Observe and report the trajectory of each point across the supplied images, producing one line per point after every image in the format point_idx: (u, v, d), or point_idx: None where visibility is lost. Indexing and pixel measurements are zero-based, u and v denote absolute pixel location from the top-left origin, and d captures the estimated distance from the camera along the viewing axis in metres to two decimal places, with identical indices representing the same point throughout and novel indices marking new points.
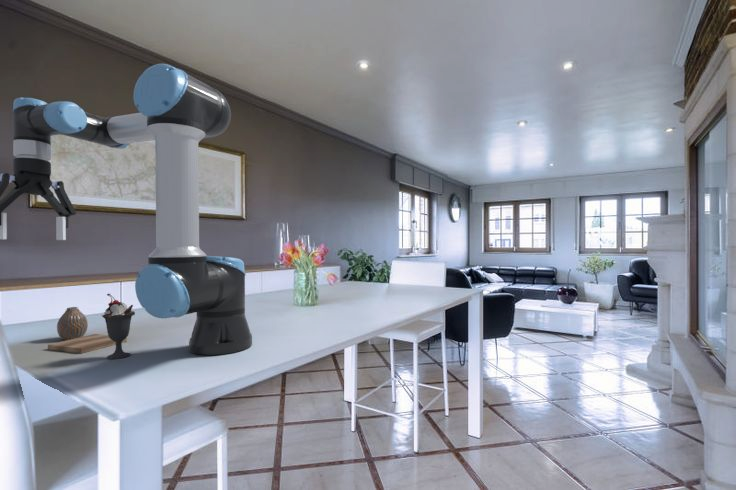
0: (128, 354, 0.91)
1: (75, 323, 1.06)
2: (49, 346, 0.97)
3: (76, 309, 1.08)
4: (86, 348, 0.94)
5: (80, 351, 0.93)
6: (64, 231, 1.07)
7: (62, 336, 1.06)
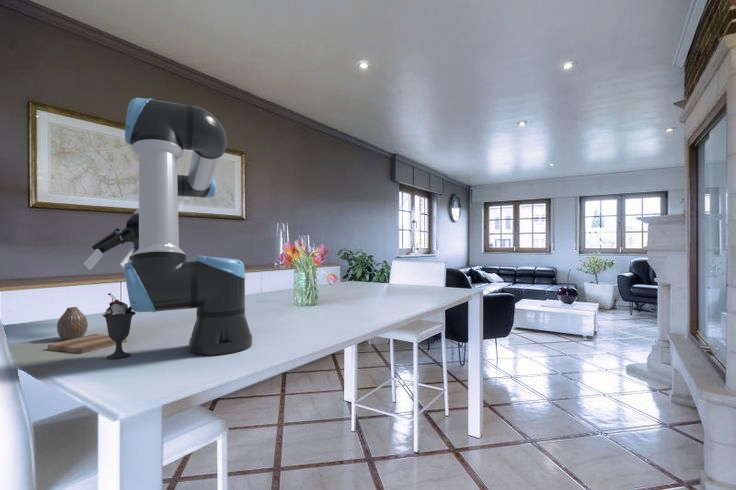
0: (128, 354, 0.91)
1: (75, 323, 1.06)
2: (49, 346, 0.97)
3: (76, 309, 1.08)
4: (86, 348, 0.94)
5: (80, 351, 0.93)
6: (125, 258, 1.18)
7: (62, 336, 1.06)
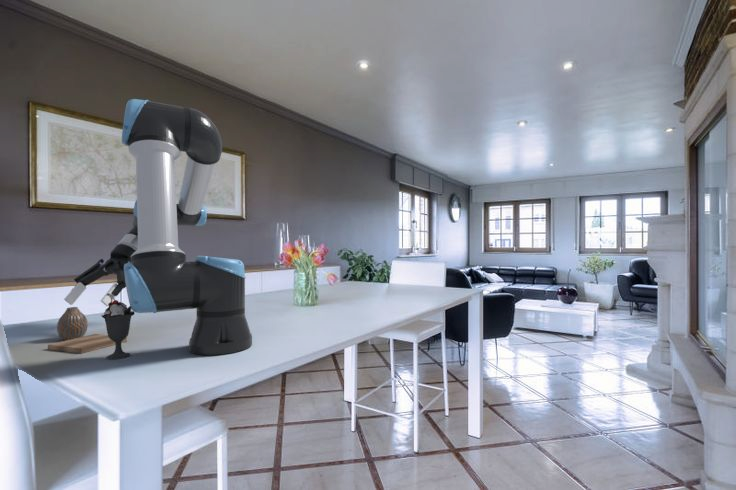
0: (128, 354, 0.91)
1: (75, 323, 1.06)
2: (49, 346, 0.97)
3: (76, 309, 1.08)
4: (86, 348, 0.94)
5: (80, 351, 0.93)
6: (106, 294, 1.12)
7: (62, 336, 1.06)
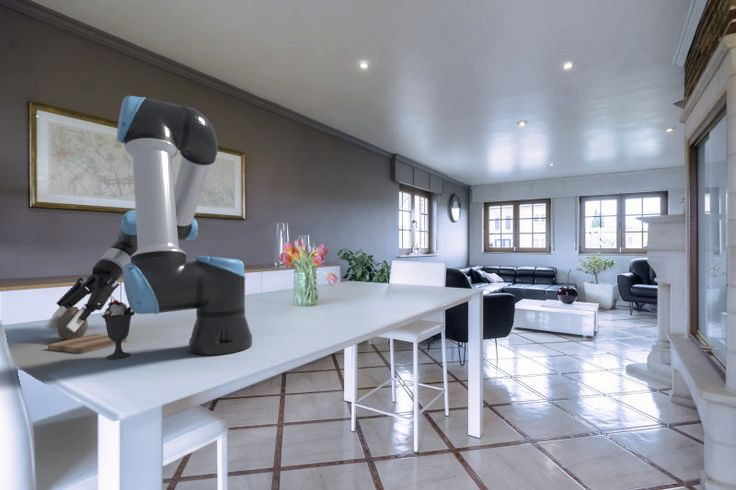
0: (128, 354, 0.91)
1: None
2: (49, 346, 0.97)
3: (76, 309, 1.08)
4: (86, 348, 0.94)
5: (80, 351, 0.93)
6: (73, 319, 1.05)
7: (62, 336, 1.06)
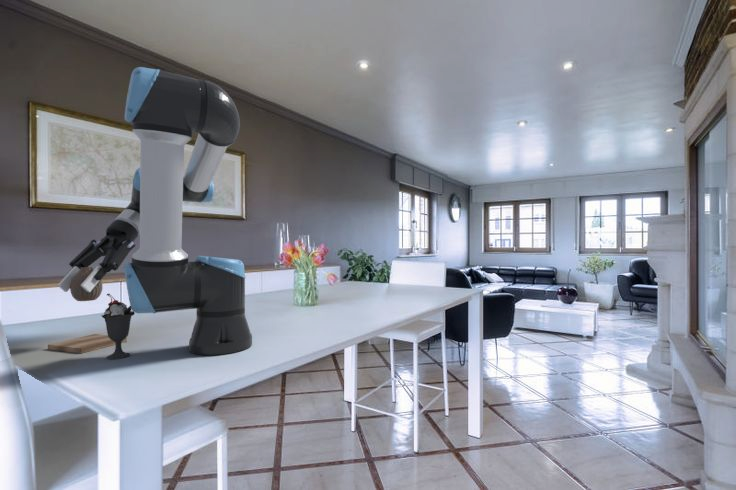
0: (128, 354, 0.91)
1: None
2: (49, 346, 0.97)
3: (90, 269, 1.01)
4: (86, 348, 0.94)
5: (80, 351, 0.93)
6: (88, 278, 0.98)
7: (76, 296, 0.99)
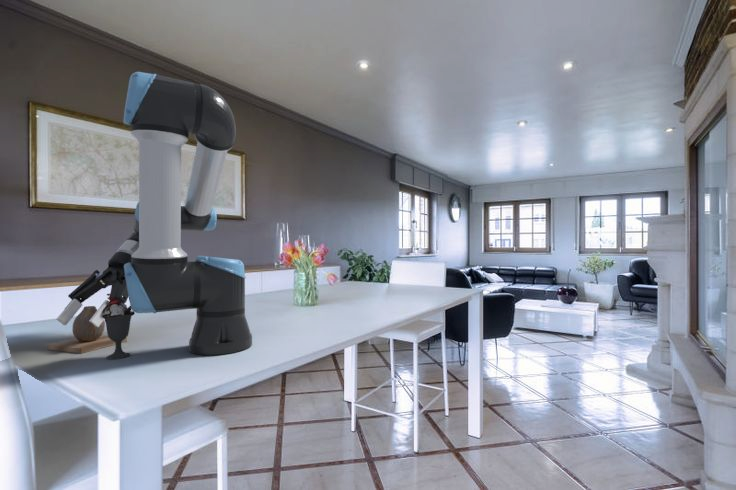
0: (128, 354, 0.91)
1: None
2: (49, 346, 0.97)
3: (94, 308, 1.01)
4: (86, 348, 0.94)
5: (80, 351, 0.93)
6: (96, 313, 0.97)
7: (78, 337, 0.98)
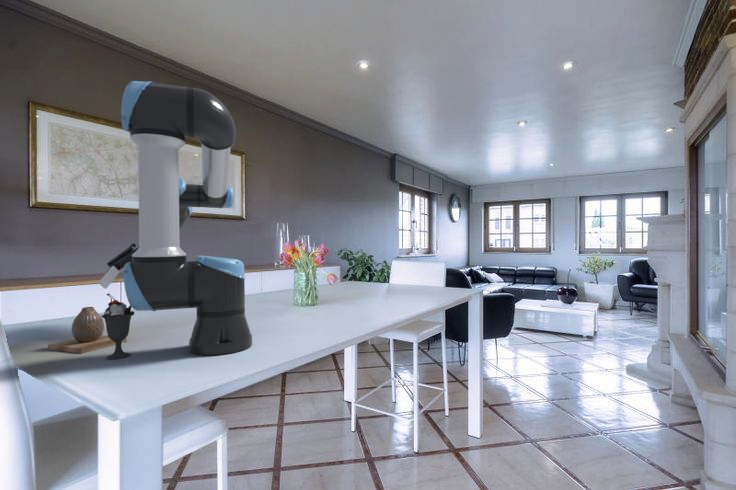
0: (128, 354, 0.91)
1: (91, 324, 0.99)
2: (49, 346, 0.97)
3: (92, 309, 1.01)
4: (86, 348, 0.94)
5: (80, 351, 0.93)
6: None
7: (77, 338, 0.98)
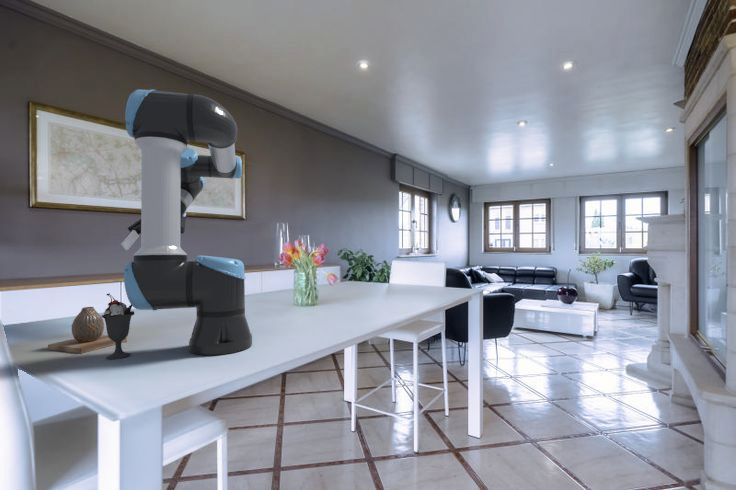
0: (128, 354, 0.91)
1: (91, 324, 0.99)
2: (49, 346, 0.97)
3: (92, 309, 1.01)
4: (86, 348, 0.94)
5: (80, 351, 0.93)
6: None
7: (77, 338, 0.98)
